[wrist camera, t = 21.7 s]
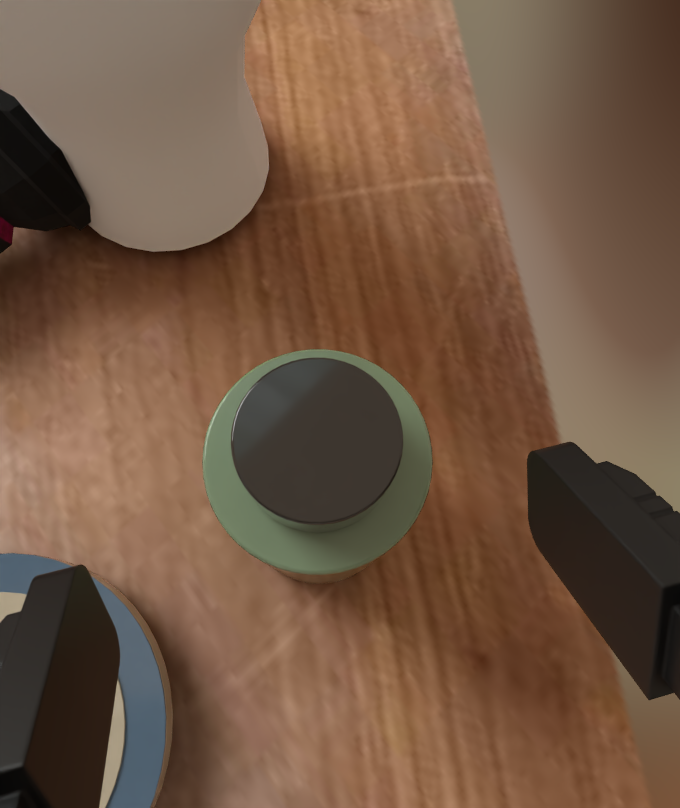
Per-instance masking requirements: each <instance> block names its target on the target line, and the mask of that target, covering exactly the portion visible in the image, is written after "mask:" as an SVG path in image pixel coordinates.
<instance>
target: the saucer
mask: <svg viewBox="0 0 680 808" xmlns="http://www.w3.org/2000/svg"><path fill="white" fill-rule="evenodd" d="M73 566H77V565H74V564H72V563H69V562H66V561H62V560H58V559H53V558H49V557H43V556H37V555H27V554H15V553H8V554H0V623H1V621H2V620H3V619H4V618H5V616H6V615H8V614H12V613H16V612H20V611H21V609H22V607H23V604H24V601H25V598H26V595H27V592H28V589H29V586H30V584H31V581H32V580H33V578H34V577H35V576H37V575H41V574H45V573H49V572H53V571H57V570H61V569H65V568H69V567H73ZM88 571H89V570H88ZM89 573H90V575H91V577H92V579H93V581H94V583H95V585H96V588H97V590H98V592H99V594H100V596H101V598H102V600H103V602H104V604H105V607H106V609H107V611H108V613H109V615H110V617H111V619H112V621H113V623H114V626H115V628H116V631H117V635H118V639H119V646H120V666H119V673H118V680H117V687H116V694H115V701H114V708H113V715H112V722H111V729H110V736H109V743H108V750H107V757H106V764H105V771H104V778H103V785H102V792H101V799H100V806H99V808H154V807H155V805H156V802H157V799H158V797H159V794H160V792H161V789H162V786H163V782H164V778H165V774H166V770H167V767H168V763H169V756H170V749H171V742H172V725H173V708H172V698H171V688H170V683H169V679H168V674H167V670H166V665H165V662H164V660H163V657H162V654H161V652H160V649H159V646H158V643H157V641H156V640H155V638H154V636H153V634H152V632H151V630H150V628H149V626H148V624H147V623H146V622H145V620H144V619H143V617H142V616H141V615H140V613H139V612H138V611H137V609H136V608H135V606H134V605H133V604H132V603H131V602H130V601H129V600H128V599H127V598H126V597H125V596H124V595H123V594H122V593H121V592H120V591H119V590H117V589H116V588H115V587H114V586H112V585H111V584H110V583H108V582H107V581H106V580H104V579H103V578H101V577H99V576H98V575H96V574H94V573H92V572H90V571H89Z"/></svg>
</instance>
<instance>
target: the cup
mask: <svg viewBox="0 0 680 808" xmlns="http://www.w3.org/2000/svg"><path fill="white" fill-rule="evenodd" d="M260 2H261V0H0V89H1V90H3V91H5V92H6V93H8V94H10V95H12V96H14V97H15V98H16V99H17V100H18V102H19V103H20V104H21V105H22V106H23V108H24V109H25V110H26V111H27V112H28V114H29V115H30V116H31V117H32V118H33V120H34V121H35V122H36V123H37V124H38V126H39V127H40V128H41V129H42V130H43V132H44V133H45V134H46V135H47V136H48V137H49V139H50V140H51V141H53V142H54V143H55V144H56V145H57V146H58V147H59V148H60V149H61V150H62V152H63V154H64V156H65V158H66V160H67V162H68V164H69V166H70V168H71V169H72V171H73V173H74V175H75V177H76V179H77V181H78V183H79V185H80V187H81V188H82V190H83V192H84V195H85V197H86V199H87V201H88V203H89V205H90V215H91V222H90V223H89V224H88V225H89V226H90V227H92V228H93V229H94V230H95V231H96V232H98V233H99V234H100V235H101V236H103V237H105V238H107V239H110V240H112V241H114V242H116V243H118V244H121V245H123V246H125V247H129V248H135V249H141V250H146V251H152V252H157V251H175V250H183V249H187V248H190V247H194V246H197V245H201V244H204V243H208V242H210V241H211V240H213V239H215V238H217V237H219V236H220V235H222V234H224V233H226V232H227V231H229V230H231V229H232V228H234V227H235V226H236V225H237V224H238V223H239V222H240V221H241V220H242V219H243V218H244V217H245V216H246V215H247V214H248V213H249V212H250V211H251V210H252V208H253V207H254V205H255V203H256V202H257V200H258V198H259V197H260V195H261V194H262V192H263V190H264V186H265V182H266V179H267V175H268V171H269V156H268V145H267V141H266V138H265V134H264V131H263V127H262V124H261V121H260V118H259V115H258V112H257V110H256V107H255V104H254V102H253V99H252V96H251V94H250V91H249V88H248V86H247V83H246V80H245V77H244V56H245V34H246V32H247V30H248V28H249V25H250V23H251V21H252V19H253V17H254V15H255V12H256V10H257V8H258V6H259V4H260Z"/></svg>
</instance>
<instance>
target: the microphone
mask: <svg viewBox="0 0 680 808" xmlns="http://www.w3.org/2000/svg"><path fill="white" fill-rule="evenodd" d="M90 222H91V215H90V205H89V203H88V201H87V199H86V197H85V195H84V192H83V190H82V188H81V187H80V185H79V183H78V181H77V179H76V177H75V175H74V173H73V171H72V169H71V168H70V166H69V164H68V162H67V160H66V158H65V156H64V154H63V152H62V150H61V149H60V148H59V147H58V146H57V145H56V144H55V143H54V142H53V141H51V140H50V139H49V137H48V136H47V135H46V134H45V133H44V132H43V130H42V129H41V128H40V127H39V126H38V124H37V123H36V122H35V121H34V120H33V118H32V117H31V116H30V115H29V114H28V112H27V111H26V110H25V109H24V108H23V106H22V105H21V104H20V103H19V102H18V100H17V99H16V98H15V97H14V96H12V95H10V94H8V93H6V92H5V91H3V90H1V89H0V253H2V252H3V251H4V250H5V249H7V248H8V247H9V246H11V245H12V237H13V228H14V227H19V228H27V229H34V230H42V231H49V230H53V229H57V228H61V227H65V226H69V225H71V226H73V227H75V228H77V229H79V230H82V229H83V228H84V227H85V226H87V225H88V224H89V223H90Z"/></svg>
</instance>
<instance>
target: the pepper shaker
mask: <svg viewBox="0 0 680 808" xmlns="http://www.w3.org/2000/svg"><path fill="white" fill-rule="evenodd" d="M432 465H433V460H432V446H431V441H430V436H429V432H428V429H427V426H426V423H425V420H424V418H423V416H422V414H421V412H420V409H419V407H418V406H417V404H416V403H415V401H414V400H413V398H412V397H411V395H410V394H409V393H408V392H407V390H406V389H405V388H404V387H403V386H402V385H401V384H400V383H399V382H398V381H397V380H396V379H395V378H394V377H393V376H392V375H390V374H389V373H388V372H386V371H385V370H383V369H382V368H381V367H379V366H377V365H375V364H374V363H372V362H370V361H368V360H366V359H363V358H361V357H358V356H356V355H353V354H349V353H345V352H341V351H334V350H326V349H311V350H302V351H296V352H291V353H287V354H283V355H281V356H278V357H275V358H273V359H270V360H268V361H266V362H264V363H262V364H260V365H259V366H257V367H255V368H254V369H253V370H251V371H250V372H248V373H247V374H245V375H244V376H243V377H242V378H241V379H240V380H239V381H238V382H236V383H235V384H234V385H233V387H232V388H231V389H230V390H229V391H228V392H227V393H226V395H225V396H224V398H223V399H222V401H221V402H220V404H219V405H218V407H217V409H216V411H215V413H214V415H213V417H212V419H211V421H210V424H209V427H208V430H207V433H206V437H205V442H204V447H203V459H202V466H203V479H204V484H205V488H206V493H207V496H208V499H209V501H210V504H211V507H212V509H213V511H214V513H215V515H216V517H217V519H218V520H219V522H220V523H221V525H222V526H223V528H224V529H225V530H226V532H227V533H228V534H229V535H230V536H231V537H232V538H233V540H234V541H235V542H236V543H237V544H238V545H239V546H241V547H242V548H243V549H244V550H246V551H247V552H248V553H249V554H251V555H252V556H254V557H256V558H257V559H259V560H261V561H262V562H264V563H266V564H267V565H269V566H271V567H272V568H274V569H276V570H277V571H279V572H281V573H282V574H284V575H286V576H288V577H290V578H292V579H295V580H298V581H301V582H305V583H313V584H326V583H333V582H338V581H341V580H344V579H347V578H349V577H351V576H353V575H355V574H357V573H358V572H360V571H362V570H363V569H364V568H366V567H367V566H368V565H370V564H371V563H372V562H374V561H375V560H377V559H378V558H379V557H381V556H382V555H383V554H385V553H386V552H387V551H388V550H390V549H391V548H392V547H393V546H395V545H396V544H397V543H398V542H399V541H400V540H401V539H402V538H403V536H404V535H405V534H406V533H407V532H408V531H409V529H410V528H411V526H412V525H413V524H414V522H415V521H416V519H417V517H418V515H419V514H420V512H421V510H422V508H423V506H424V503H425V500H426V497H427V495H428V491H429V487H430V482H431V477H432Z"/></svg>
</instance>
